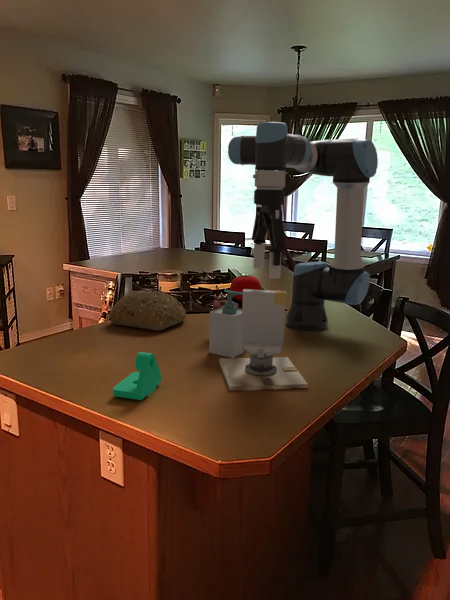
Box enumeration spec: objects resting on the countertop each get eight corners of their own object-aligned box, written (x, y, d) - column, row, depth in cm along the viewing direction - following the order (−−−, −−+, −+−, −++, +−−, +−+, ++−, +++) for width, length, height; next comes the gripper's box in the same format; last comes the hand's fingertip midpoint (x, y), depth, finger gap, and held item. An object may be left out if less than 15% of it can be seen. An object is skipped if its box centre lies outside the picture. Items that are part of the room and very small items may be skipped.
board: (287, 360, 146) (287, 356, 146) (307, 388, 127) (307, 382, 127) (219, 362, 144) (219, 357, 143) (229, 390, 124) (229, 385, 124)
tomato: (261, 305, 213) (263, 277, 210) (229, 304, 213) (230, 277, 210) (260, 298, 225) (261, 272, 222) (229, 297, 225) (230, 271, 222)
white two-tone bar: (243, 341, 141) (245, 285, 137) (283, 343, 140) (286, 287, 136) (238, 356, 128) (241, 295, 124) (282, 359, 127) (286, 298, 123)
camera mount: (133, 381, 129) (133, 343, 127) (161, 385, 127) (161, 346, 125) (111, 399, 118) (110, 358, 116) (141, 404, 116) (140, 362, 114)
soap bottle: (233, 358, 147) (235, 295, 143) (208, 352, 152) (209, 291, 147) (248, 351, 154) (250, 290, 150) (223, 345, 159) (225, 286, 154)
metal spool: (272, 364, 140) (273, 345, 139) (279, 375, 132) (280, 356, 130) (242, 365, 139) (243, 346, 137) (248, 376, 131) (249, 356, 129)
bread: (103, 326, 176) (102, 293, 173) (136, 312, 195) (135, 282, 193) (164, 336, 167) (164, 301, 164) (192, 320, 187) (192, 289, 184)
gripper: (241, 186, 135) (239, 264, 140) (270, 190, 112) (266, 283, 117) (268, 187, 137) (265, 264, 142) (302, 190, 113) (297, 282, 118)
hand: (266, 273), depth 129 cm, fingers open, 13 cm apart
